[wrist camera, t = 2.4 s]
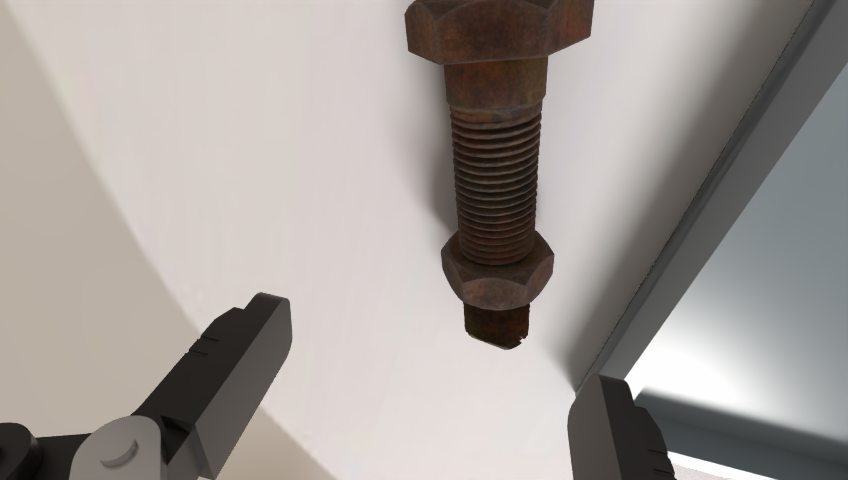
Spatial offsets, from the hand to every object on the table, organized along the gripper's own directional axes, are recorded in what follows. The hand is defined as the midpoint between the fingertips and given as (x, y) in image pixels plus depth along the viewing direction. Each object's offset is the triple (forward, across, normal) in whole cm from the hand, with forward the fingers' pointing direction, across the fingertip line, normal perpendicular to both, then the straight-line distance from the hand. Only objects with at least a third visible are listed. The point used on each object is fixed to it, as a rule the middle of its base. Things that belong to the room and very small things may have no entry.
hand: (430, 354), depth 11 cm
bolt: (+10, -1, -1) cm, 10 cm away
